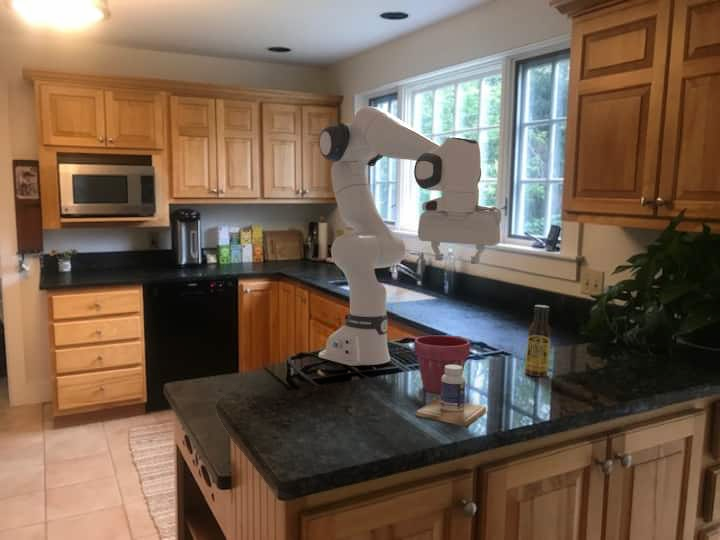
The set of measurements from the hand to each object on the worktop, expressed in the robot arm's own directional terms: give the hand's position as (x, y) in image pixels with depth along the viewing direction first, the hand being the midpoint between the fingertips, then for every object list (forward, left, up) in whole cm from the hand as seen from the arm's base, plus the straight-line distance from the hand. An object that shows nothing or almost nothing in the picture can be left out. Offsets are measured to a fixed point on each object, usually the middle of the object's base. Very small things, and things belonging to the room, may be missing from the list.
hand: (456, 262), depth 146 cm
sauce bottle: (+12, +33, -34) cm, 48 cm away
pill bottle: (+5, -11, -33) cm, 35 cm away
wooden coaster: (+5, -11, -34) cm, 36 cm away
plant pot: (-5, +5, -34) cm, 35 cm away
